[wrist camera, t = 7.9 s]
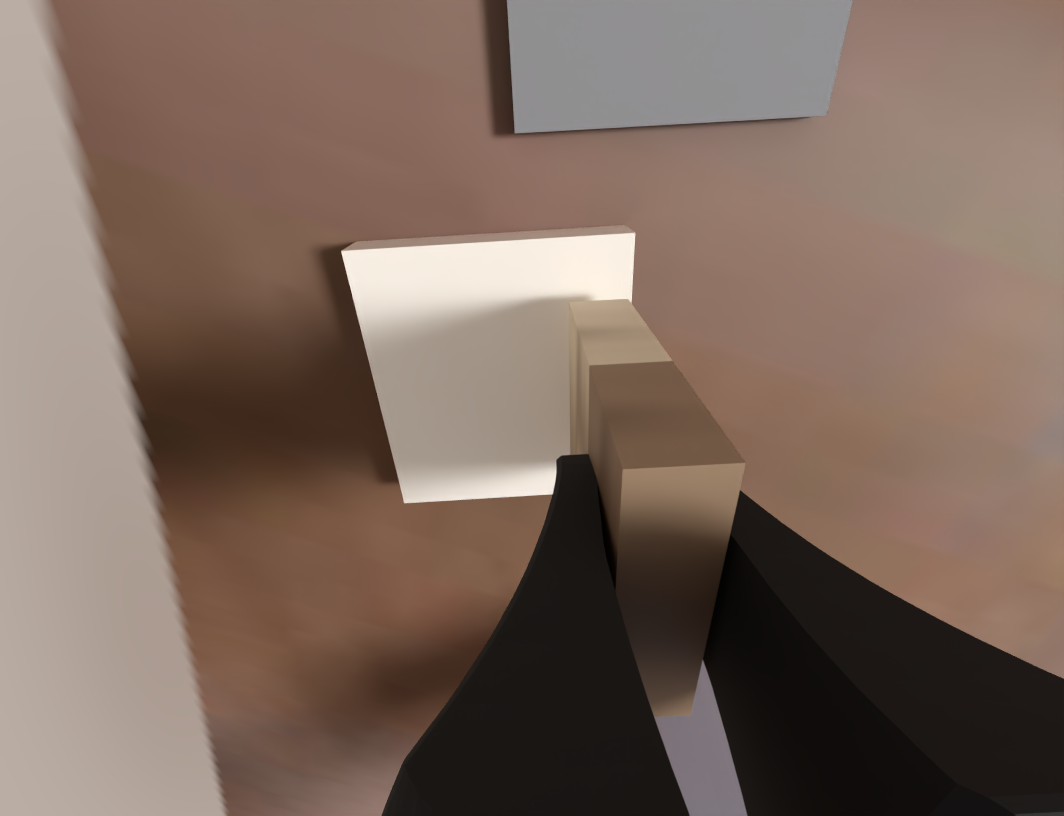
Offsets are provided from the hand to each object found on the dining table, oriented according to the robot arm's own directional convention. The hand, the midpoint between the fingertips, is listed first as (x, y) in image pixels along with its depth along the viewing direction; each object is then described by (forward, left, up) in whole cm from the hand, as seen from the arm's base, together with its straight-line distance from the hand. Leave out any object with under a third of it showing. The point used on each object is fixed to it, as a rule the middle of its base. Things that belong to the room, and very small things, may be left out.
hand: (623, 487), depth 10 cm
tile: (0, -1, -6) cm, 6 cm away
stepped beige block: (0, 0, -4) cm, 4 cm away
